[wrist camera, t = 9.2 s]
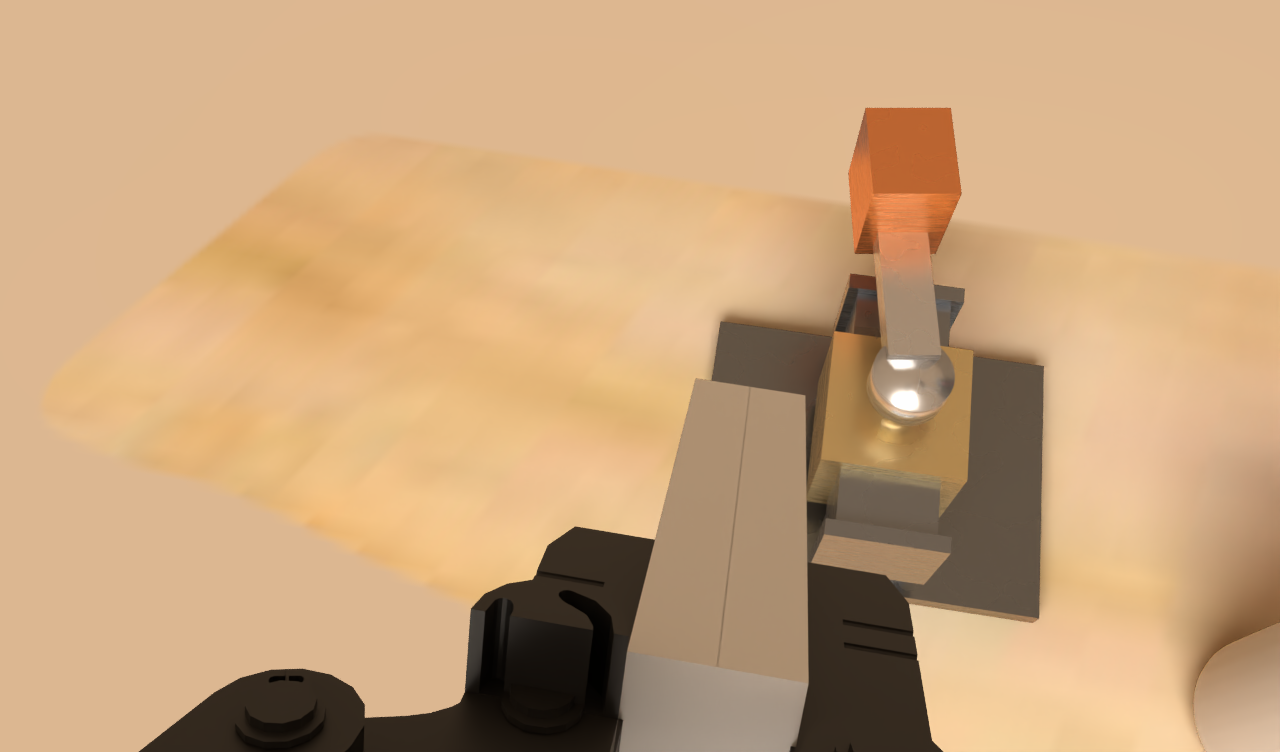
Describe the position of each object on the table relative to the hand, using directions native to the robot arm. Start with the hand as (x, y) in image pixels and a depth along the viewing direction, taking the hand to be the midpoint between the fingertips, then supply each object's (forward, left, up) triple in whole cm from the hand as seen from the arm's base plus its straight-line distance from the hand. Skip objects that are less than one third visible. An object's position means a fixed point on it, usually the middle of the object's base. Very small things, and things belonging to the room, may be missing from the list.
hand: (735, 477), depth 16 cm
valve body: (-6, -12, -30) cm, 33 cm away
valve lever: (-5, -16, -22) cm, 28 cm away
